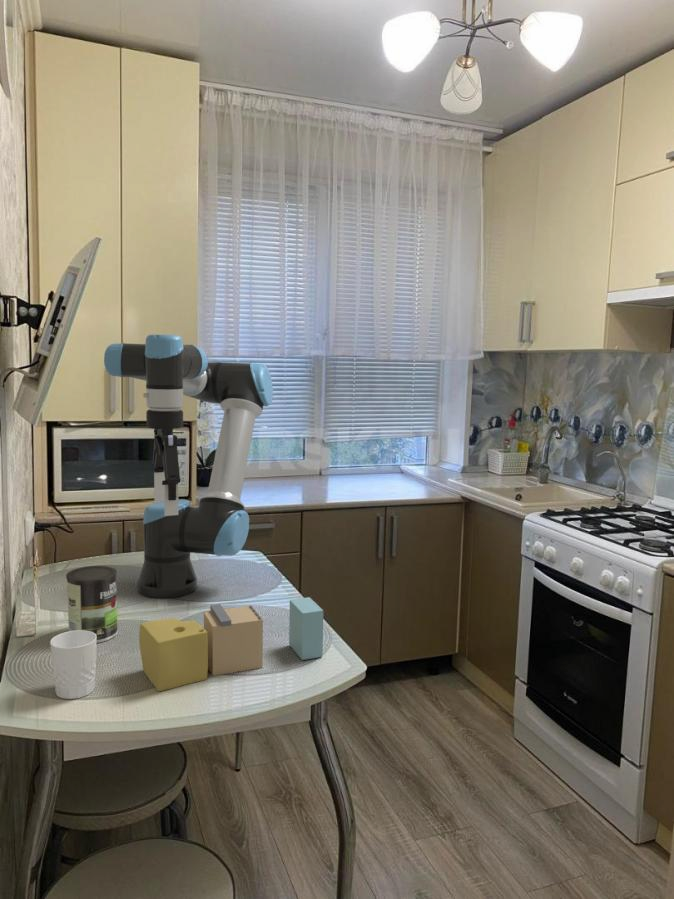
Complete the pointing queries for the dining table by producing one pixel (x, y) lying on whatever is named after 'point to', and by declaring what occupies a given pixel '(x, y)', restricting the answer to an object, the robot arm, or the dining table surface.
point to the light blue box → (306, 628)
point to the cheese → (173, 652)
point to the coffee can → (93, 601)
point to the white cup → (74, 663)
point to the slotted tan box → (233, 639)
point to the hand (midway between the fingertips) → (166, 508)
